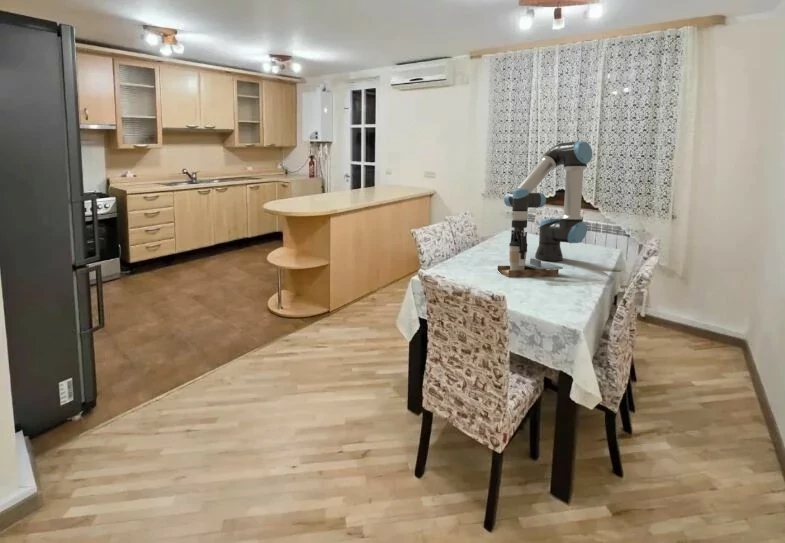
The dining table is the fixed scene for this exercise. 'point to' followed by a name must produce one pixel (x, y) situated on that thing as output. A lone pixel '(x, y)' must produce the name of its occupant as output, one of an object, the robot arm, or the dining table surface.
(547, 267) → the lid
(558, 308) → the dining table surface
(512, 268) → the coffee cup
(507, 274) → the wooden tray
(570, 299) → the dining table surface
